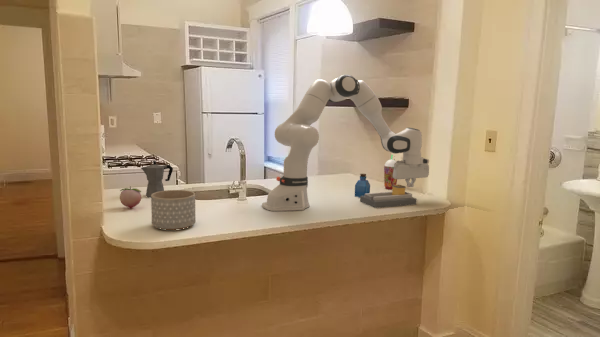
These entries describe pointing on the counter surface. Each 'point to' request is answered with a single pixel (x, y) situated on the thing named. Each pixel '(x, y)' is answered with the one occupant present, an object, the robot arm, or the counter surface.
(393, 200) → the grey tray
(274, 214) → the counter surface
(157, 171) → the coffeepot
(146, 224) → the counter surface
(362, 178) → the perfume bottle
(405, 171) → the robot arm
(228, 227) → the counter surface
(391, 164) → the smoothie
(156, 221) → the planter
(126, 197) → the decorative fruit
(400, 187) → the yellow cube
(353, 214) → the counter surface
